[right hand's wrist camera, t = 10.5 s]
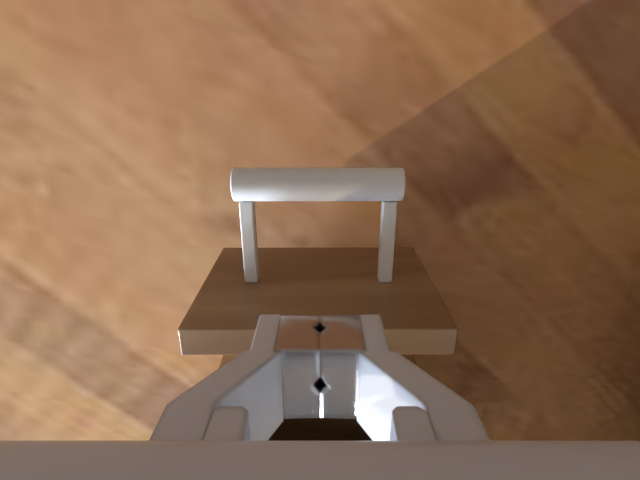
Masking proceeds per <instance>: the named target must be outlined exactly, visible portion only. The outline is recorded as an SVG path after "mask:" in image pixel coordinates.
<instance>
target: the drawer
mask: <svg viewBox="0 0 640 480" xmlns="http://www.w3.org/2000/svg"><path fill="white" fill-rule="evenodd" d="M405 185H406V180H405V172H404V169H403V168H233V169H232V172H231V178H230V186H231V195H232V198H233V200H234V201H240V202H239V213H240V226H241V239H242V248H223V250H222V252H221V254H220V255H219V257H218V259H217V261H216V262H215V264H214V266H213V268H212V270H211V271H210V273H209V275H208V277H207V278H206V280H205V282H204V284H203V285H202V287H201V289H200V291H199V293H198V294H197V296H196V298H195V300H194V301H193V303H192V305H191V307H190V308H189V310H188V312H187V314H186V316H185V317H184V319H183V321H182V323H181V324H180V326H179V328H178V334H179V341H180V347H181V354H182V355H223V358H222V360H221V363H220V366H219V368H220V367H222V366H223V365H225V364H226V363H228V362H229V361H231V360H232V359H233V358H235V357H236V356H238V355H239V354H241V353H242V352H244V351H250V349H251V345H252V341H253V338H254V334H255V330H256V327H257V323H258V319H259V316H260V315H261V314H280V315H281V314H283V315H320V316H322V315H366V314H379V315H380V316H381V320H382V323H383V327H384V331H385V334H386V338H387V341H388V345H389V349H390V351H396V352H398V353H399V354H401V355H402V356H404V357H405V358H407V359H408V360H409V361H411V362H412V363H414V364H415V365H416V362H415V359H414V356H413V354H455V348H456V341H457V334H458V327H457V325H456V324H455V322H454V320H453V318H452V317H451V315H450V313H449V311H448V309H447V308H446V306H445V304H444V302H443V300H442V299H441V297H440V295H439V293H438V291H437V290H436V288H435V286H434V284H433V283H432V281H431V279H430V277H429V275H428V274H427V272H426V270H425V268H424V266H423V265H422V263H421V261H420V259H419V258H418V256H417V254H416V252H415V250H414V249H413V248H394V243H395V229H396V215H397V202H396V201H402V200H403V198H404V194H405ZM255 201H382V202H381V220H380V237H379V248H257V232H256V216H255ZM268 441H373V440H372V439H371V438H370V437H369V435H368V434H367V433H366V432H365V430H364V429H363V428H362V427H361V425H360V424H359V423H358V422H357V419H343V418H296V419H283V422H282V423H281V425H280V426H279V427H278V428H277V430H276V431H275V432H274V433H273V435H272V436H271V437H270V438H269V440H268Z"/></svg>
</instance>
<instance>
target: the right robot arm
mask: <svg viewBox="0 0 640 480" xmlns="http://www.w3.org/2000/svg"><path fill="white" fill-rule="evenodd" d="M296 418H343V419H357V422H358V423H359V424H360V425H361V427H362V428H363V429H364V430H365V432H366V433H367V434H368V435H369V437H370V438H371V439H372V440H373V441H268V440H269V438H270V437H271V436H272V435H273V433H274V432H275V431H276V430H277V428H278V427H279V426H280V425H281V423H282V422H283V419H296ZM0 480H640V441H491V440H490V438H489V436H488V434H487V432H486V430H485V428H484V426H483V424H482V422H481V419H480V417H479V415H478V413H477V411H476V409H475V407H474V405H473V404H471V403H470V402H468V401H467V400H465V399H464V398H463V397H461V396H460V395H458V394H457V393H455V392H454V391H452V390H451V389H450V388H448V387H447V386H445V385H444V384H442V383H441V382H440V381H438V380H437V379H435V378H434V377H432V376H431V375H429V374H428V373H427V372H425V371H424V370H422V369H421V368H419V367H418V366H417V365H415V364H414V363H412V362H411V361H409V360H408V359H407V358H405V357H404V356H402V355H401V354H399V353H398V352H396V351H390V349H389V345H388V341H387V338H386V334H385V331H384V327H383V323H382V320H381V316H380V315H379V314H366V315H322V316H320V315H283V314H281V315H280V314H261V315H260V316H259V319H258V323H257V327H256V330H255V334H254V338H253V341H252V345H251V349H250V351H244V352H242V353H241V354H239V355H238V356H236V357H235V358H233V359H232V360H231V361H229V362H228V363H226V364H225V365H223V366H222V367H220V368H219V369H218V370H216V371H215V372H213V373H212V374H210V375H209V376H207V377H206V378H205V379H203V380H202V381H200V382H199V383H197V384H196V385H194V386H193V387H192V388H190V389H189V390H187V391H186V392H184V393H183V394H182V395H180V396H179V397H177V398H176V399H174V400H173V401H171V402H170V403H169V404H167V406H166V408H165V410H164V412H163V414H162V416H161V418H160V420H159V422H158V424H157V426H156V428H155V430H154V432H153V434H152V436H151V438H150V440H149V441H0Z"/></svg>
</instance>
